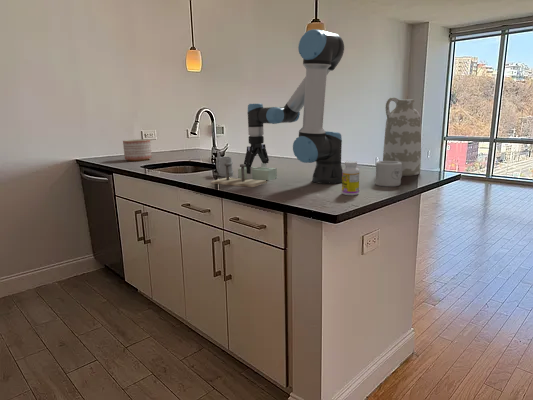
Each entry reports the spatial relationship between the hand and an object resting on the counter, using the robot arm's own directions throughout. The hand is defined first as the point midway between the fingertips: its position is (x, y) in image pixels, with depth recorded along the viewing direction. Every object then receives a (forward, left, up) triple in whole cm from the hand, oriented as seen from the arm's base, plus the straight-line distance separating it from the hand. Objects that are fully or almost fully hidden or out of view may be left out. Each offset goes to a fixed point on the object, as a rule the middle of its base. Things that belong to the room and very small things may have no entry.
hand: (257, 177), depth 199 cm
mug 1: (+22, -1, 0) cm, 22 cm away
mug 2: (-64, -9, 0) cm, 65 cm away
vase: (-61, -41, 0) cm, 74 cm away
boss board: (+1, +15, 0) cm, 15 cm away
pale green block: (0, 0, 0) cm, 0 cm away
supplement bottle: (-55, +18, 0) cm, 58 cm away
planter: (+128, -36, 0) cm, 133 cm away
